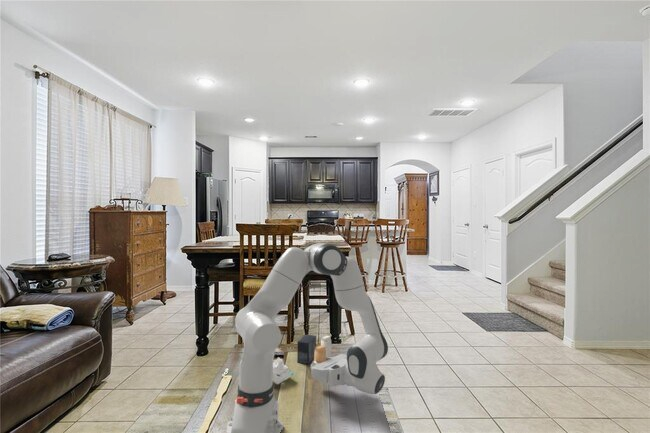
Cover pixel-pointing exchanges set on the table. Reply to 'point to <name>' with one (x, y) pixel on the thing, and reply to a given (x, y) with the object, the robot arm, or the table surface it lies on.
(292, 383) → the table surface
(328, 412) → the table surface
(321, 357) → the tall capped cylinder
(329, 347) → the grey base with column
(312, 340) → the small box
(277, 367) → the partial skull model
